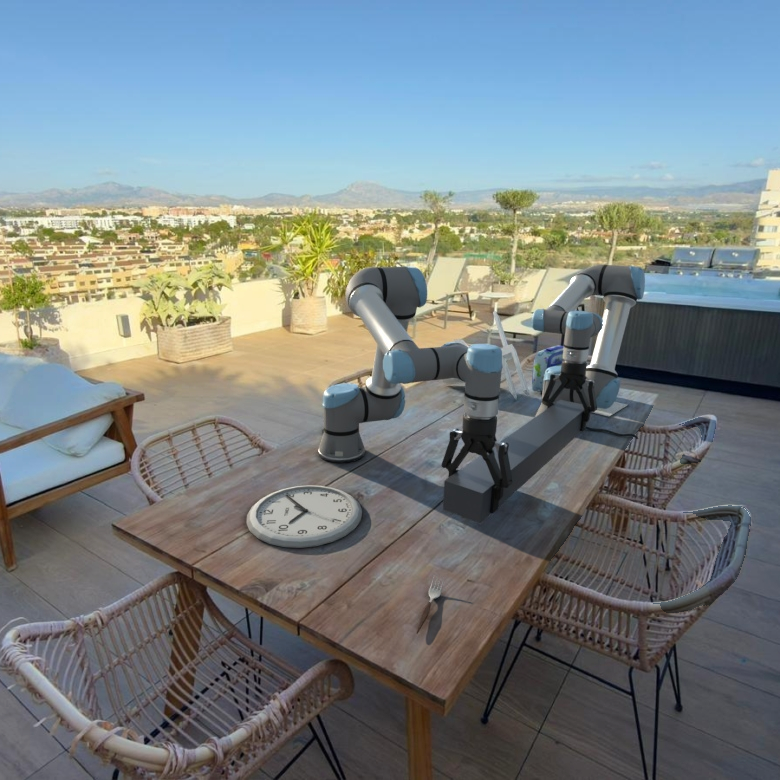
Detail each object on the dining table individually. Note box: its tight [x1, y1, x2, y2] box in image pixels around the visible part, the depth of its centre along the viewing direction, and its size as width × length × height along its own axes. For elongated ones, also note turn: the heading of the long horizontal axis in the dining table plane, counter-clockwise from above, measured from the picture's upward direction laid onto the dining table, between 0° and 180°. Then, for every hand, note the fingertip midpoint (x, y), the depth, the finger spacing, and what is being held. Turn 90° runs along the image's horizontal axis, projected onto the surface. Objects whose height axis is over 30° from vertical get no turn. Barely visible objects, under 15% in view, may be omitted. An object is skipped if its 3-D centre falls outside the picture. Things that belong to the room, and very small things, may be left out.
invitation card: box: [590, 401, 629, 418], centre depth 226 cm, size 21×1×15 cm
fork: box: [416, 574, 445, 635], centre depth 104 cm, size 3×16×2 cm, turn 160°
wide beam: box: [442, 400, 588, 524], centre depth 147 cm, size 76×10×8 cm, turn 143°
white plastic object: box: [441, 310, 531, 400], centre depth 245 cm, size 37×45×31 cm
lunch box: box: [531, 345, 564, 393], centre depth 245 cm, size 26×11×21 cm, turn 134°
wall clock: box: [246, 484, 363, 549], centre depth 137 cm, size 30×2×30 cm
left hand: (473, 503), depth 123 cm, fingers closed on wide beam, 10 cm apart
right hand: (566, 426), depth 172 cm, fingers closed on wide beam, 10 cm apart
